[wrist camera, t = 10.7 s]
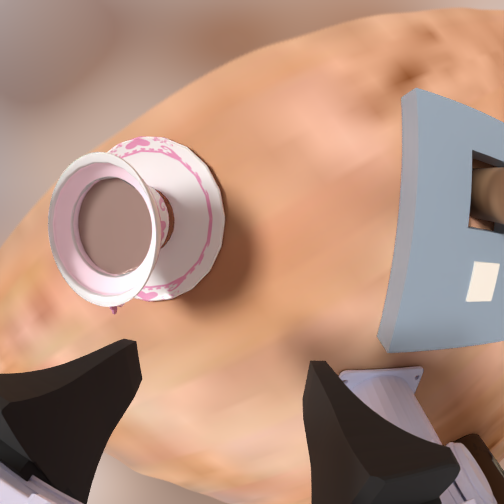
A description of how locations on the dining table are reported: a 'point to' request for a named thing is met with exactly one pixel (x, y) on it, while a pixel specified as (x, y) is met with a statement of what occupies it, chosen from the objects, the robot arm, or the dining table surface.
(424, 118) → the hole plate
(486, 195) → the walnut peg
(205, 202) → the teacup
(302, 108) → the dining table surface
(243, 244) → the dining table surface
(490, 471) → the olive oil
